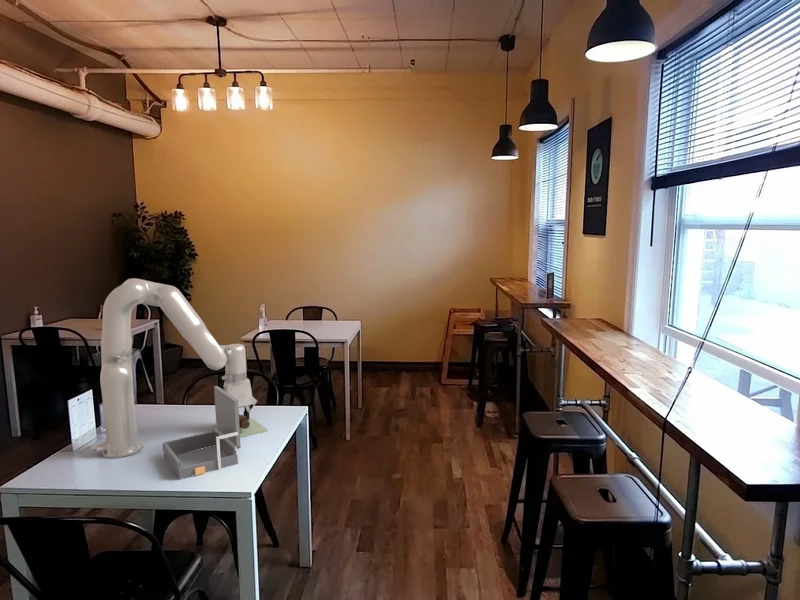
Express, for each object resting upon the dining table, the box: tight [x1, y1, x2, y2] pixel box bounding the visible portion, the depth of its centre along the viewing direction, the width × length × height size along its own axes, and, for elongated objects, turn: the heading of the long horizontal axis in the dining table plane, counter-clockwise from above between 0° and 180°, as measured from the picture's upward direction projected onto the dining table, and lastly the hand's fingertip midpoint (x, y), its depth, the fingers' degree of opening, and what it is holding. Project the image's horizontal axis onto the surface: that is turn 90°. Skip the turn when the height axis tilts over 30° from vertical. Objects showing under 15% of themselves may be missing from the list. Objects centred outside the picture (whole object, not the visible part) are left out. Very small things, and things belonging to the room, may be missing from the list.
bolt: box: [239, 414, 250, 429], centre depth 202 cm, size 6×5×15 cm
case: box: [162, 385, 242, 480], centre depth 175 cm, size 19×22×21 cm
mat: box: [211, 417, 269, 438], centre depth 203 cm, size 16×16×1 cm
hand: (238, 423), depth 202 cm, fingers closed on bolt, 5 cm apart
